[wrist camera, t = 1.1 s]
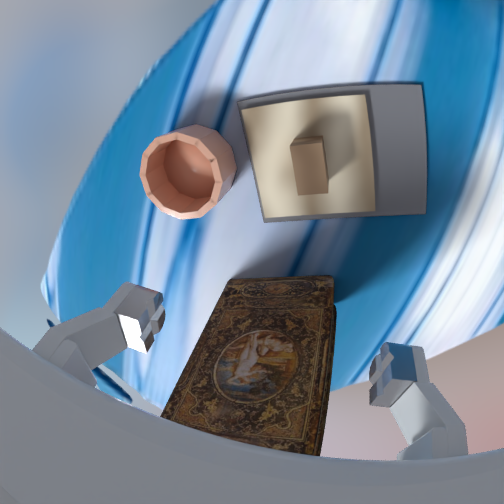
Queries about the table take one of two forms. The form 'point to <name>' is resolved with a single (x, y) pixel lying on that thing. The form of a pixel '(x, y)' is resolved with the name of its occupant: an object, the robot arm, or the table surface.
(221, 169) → the bowl
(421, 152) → the mat
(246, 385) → the book
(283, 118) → the board
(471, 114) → the table surface
